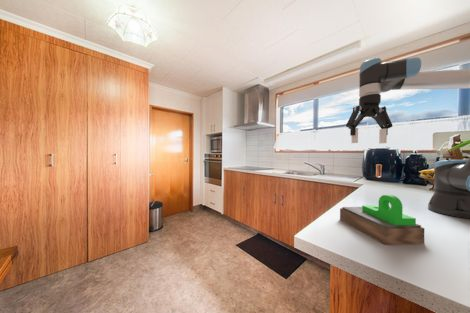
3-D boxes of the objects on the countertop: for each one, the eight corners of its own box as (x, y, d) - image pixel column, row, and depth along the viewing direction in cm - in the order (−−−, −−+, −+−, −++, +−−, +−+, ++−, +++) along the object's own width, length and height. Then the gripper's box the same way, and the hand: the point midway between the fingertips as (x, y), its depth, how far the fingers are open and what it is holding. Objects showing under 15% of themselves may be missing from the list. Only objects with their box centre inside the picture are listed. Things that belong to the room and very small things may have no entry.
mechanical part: (415, 225, 47) (416, 197, 47) (395, 225, 47) (395, 197, 47) (378, 210, 59) (378, 189, 59) (362, 210, 59) (362, 189, 59)
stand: (368, 218, 65) (368, 206, 65) (424, 243, 47) (424, 226, 47) (339, 219, 64) (340, 206, 64) (385, 244, 46) (385, 227, 46)
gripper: (387, 99, 78) (386, 143, 79) (337, 98, 77) (336, 143, 77) (404, 93, 71) (403, 142, 71) (349, 92, 69) (349, 142, 69)
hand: (368, 143), depth 74 cm, fingers open, 13 cm apart
